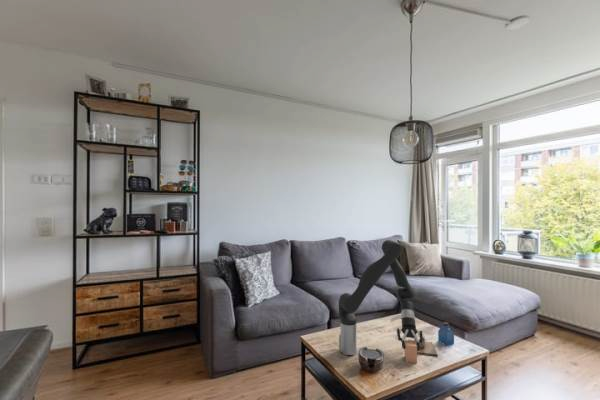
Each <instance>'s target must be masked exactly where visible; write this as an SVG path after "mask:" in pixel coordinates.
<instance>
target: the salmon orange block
mask: <svg viewBox="0 0 600 400" xmlns="http://www.w3.org/2000/svg"><path fill="white" fill-rule="evenodd" d="M408 340H409V339H405V340H404V341H405V349H404V359H405V362H406V363H407V362H408V363H415V364H417V363H418V354H417V345H416V342H415V341H408Z"/></svg>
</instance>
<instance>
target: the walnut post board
mask: <svg viewBox="0 0 600 400" xmlns="http://www.w3.org/2000/svg"><path fill="white" fill-rule="evenodd" d="M422 336H423V341H422V343H419V345H420V349H419V351H417V355H425V356H432V357H433V356H434V357H438V356H439V355H438V352H437V350H436V347H435V345H434V343H433V342H432V341H426V339H425V336H424V335H422ZM407 340H408V341H415V340H414V339H407ZM415 342H416V341H415Z"/></svg>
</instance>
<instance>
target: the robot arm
mask: <svg viewBox="0 0 600 400" xmlns="http://www.w3.org/2000/svg"><path fill="white" fill-rule="evenodd" d="M381 251H382V252H383V256H382V257H380V258H379V259H378V260H376V261H374V262H373V263H370V265H368V266H367V267H366V269H365V270H364V271H363V272H362V274H361V275H360V278H359V281H358V285H357V288H356V289H355V290H354V292H353V293H352V294H350V293H348V292H344V293H342V294H341V295H340V296H339V298H338V316H339V319H340V334H339V335H338V352H339V351H341V352H342V353H343V354H342V353H341V352H340V353H341V354H342V355H344V354H345V355H344V356H346V355H353V356H355V355H356V354H357V352H358V351H357V317H356V316H355V312H357V310H359V308H360V307H361V305H362V303H363V301H364V300H365V298H366V296H367V295H368V294H369V293H370V292H371V290H372V289H373V288H374V286H375V285H376V284H377V282H378V281H379V280H380V278H381V277H382V276H383V275H384V273H385V272H386V271H387V270H388V268H389V267H390V270H391V272H392V274H393V278H394V281H395V283H396V285H397V286H398V288H397V290H396V296H397V298H398V300H399V301H398V302H399V303H400V311H401V312H400V313H401V315H400V320H401V328H399V327H398V328H396V335H397V341H400V342H401V348H402V349H403V350H405V340H406V338H410V339H413V340H415V341H416V345H417V351H419V349H420V345H419V343H422V341H423V336H424V335H423V330H417V326H416V317H415V312H414V304H413V302H411V301H409V300H412V299H414V298H415V296H416V294H415V290H414V288H413V287H412V285H411V284H410V282H409V281H408V277H407V274H406V272H405V269H404V267H402V265H401V264H400V262H399V259H398V258H399V256H400V255H401V254H402V251H403V246H402V244H401V243H399V242H397V241H395V240H389V239H387V240H384V241H383V242H382V244H381ZM401 333H403V336H402V337H401ZM417 335H418V336H419V338H418V336H417Z"/></svg>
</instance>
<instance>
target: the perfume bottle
mask: <svg viewBox="0 0 600 400" xmlns="http://www.w3.org/2000/svg"><path fill="white" fill-rule="evenodd" d="M449 324H450V323H449V322H447V321H443V322H442V326H441V327H440V328H439V330H438V331H437V332H438V333H437V334H438V335H437V339H438V340H437V341H438V342H439V343H441V344H443V345H444V346H452V345H454V344H455V333H454V331H453V330H452V329H451V328H450V325H449Z"/></svg>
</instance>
